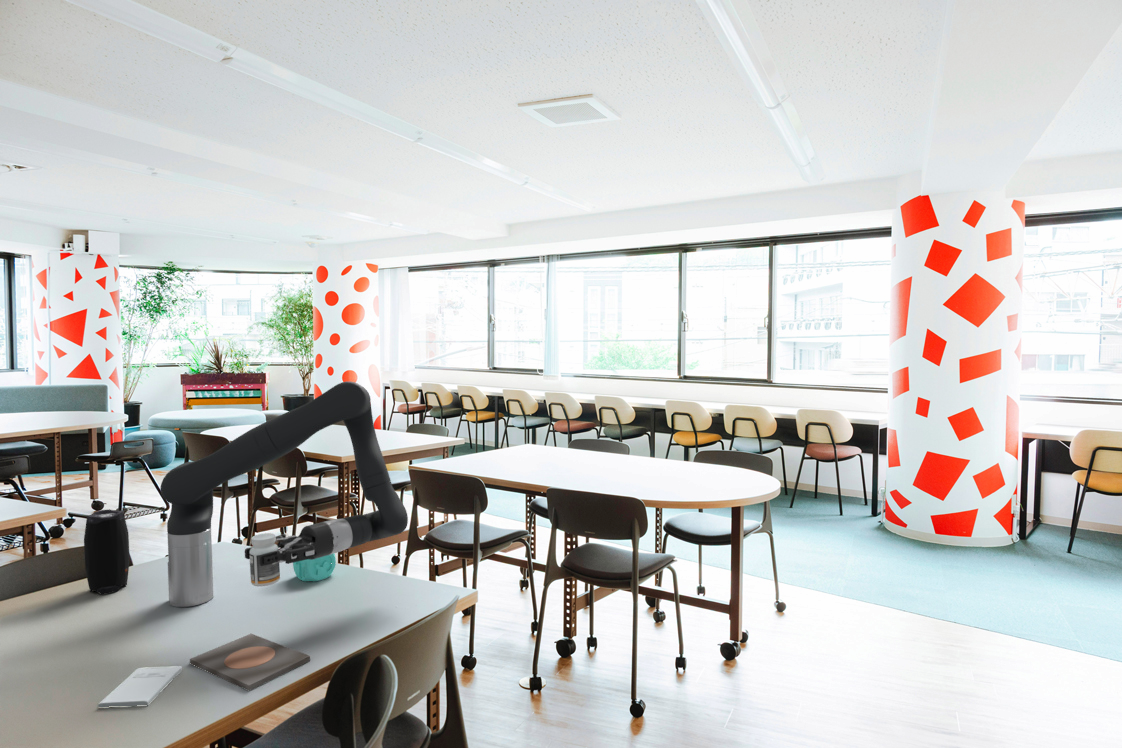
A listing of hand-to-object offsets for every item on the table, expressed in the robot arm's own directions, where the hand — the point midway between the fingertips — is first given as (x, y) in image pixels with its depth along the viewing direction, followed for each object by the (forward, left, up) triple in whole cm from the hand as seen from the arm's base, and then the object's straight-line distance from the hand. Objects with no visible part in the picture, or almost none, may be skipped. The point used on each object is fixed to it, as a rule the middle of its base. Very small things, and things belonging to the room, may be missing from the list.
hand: (252, 557), depth 139 cm
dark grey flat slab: (+8, -6, -18) cm, 20 cm away
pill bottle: (0, +3, -6) cm, 7 cm away
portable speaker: (-58, -2, -18) cm, 60 cm away
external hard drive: (0, -22, -18) cm, 29 cm away
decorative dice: (-21, +31, -18) cm, 42 cm away
